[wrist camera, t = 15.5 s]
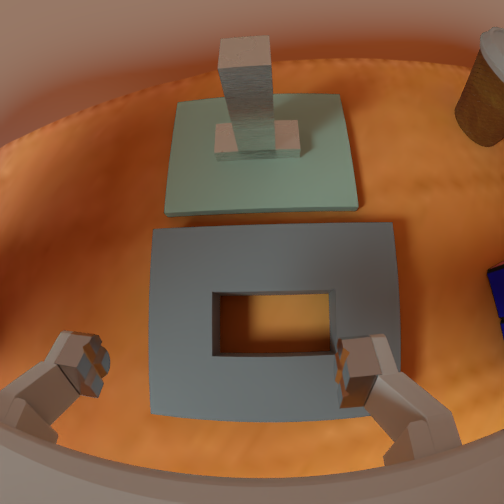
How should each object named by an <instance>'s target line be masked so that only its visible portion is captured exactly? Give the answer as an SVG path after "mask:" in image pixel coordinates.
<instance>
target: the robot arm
mask: <svg viewBox="0 0 504 504" xmlns="http://www.w3.org/2000/svg"><path fill="white" fill-rule="evenodd" d="M101 344H102V340H101V339H100V337H99V335H95V334H88V333H81V332H73V331H66V330H64V331H62V332H60V334H59V336H58V338H57V339H56V341H55V343H54V345H53V346H52V348H51V350H50V352H49V353H48V355H47V357H46V359H45V361H44V362H43V361H41V362H39V363H38V364H37V365H35V366H34V367H32V368H31V369H30V370H28V371H27V372H25V373H24V374H23V375H21V376H20V377H18V378H17V379H16V380H14V381H13V382H12V383H10V384H9V385H7V386H6V387H5V388H3V389H2V390H1V391H0V504H504V429H502V430H500V431H498V432H495V433H493V434H491V435H488V436H486V437H483V438H481V439H478V440H475V441H473V442H470V443H467V444H464V445H462V443H461V440H460V437H459V434H458V431H457V427H456V424H455V421H454V419H453V416H452V413H451V411H450V410H448V409H447V408H446V407H445V406H444V405H442V404H441V403H440V402H439V401H437V400H436V399H435V398H434V397H433V396H431V395H430V394H429V393H428V392H426V391H425V390H424V389H423V388H422V387H420V386H419V385H418V384H417V383H415V382H414V381H413V380H412V379H411V378H409V377H408V376H407V375H406V374H404V373H403V372H398V369H397V366H396V364H395V361H394V358H393V355H392V352H391V349H390V346H389V344H388V341H387V338H386V336H385V335H384V334H376V335H363V336H352V337H340V338H339V339H338V342H337V349H338V352H337V353H336V354H335V356H334V365H333V370H334V379H335V382H337V383H338V384H339V385H338V389H337V397H338V403H339V409H340V408H352V407H363V406H364V408H365V409H366V410H367V412H368V413H369V414H370V415H371V416H372V417H373V418H374V420H375V421H376V422H377V423H378V424H379V425H380V426H381V427H382V429H383V430H384V431H385V432H386V433H387V434H388V435H389V436H390V438H391V439H392V440H393V441H394V442H395V443H394V444H393V445H392V446H391V448H390V449H389V450H388V451H387V452H386V454H385V455H384V456H383V458H384V464H385V466H383V467H378V468H372V469H367V470H361V471H354V472H347V473H339V474H331V475H321V476H309V477H292V478H231V477H214V476H202V475H192V474H184V473H176V472H169V471H162V470H156V469H150V468H144V467H139V466H134V465H129V464H125V463H120V462H116V461H112V460H108V459H104V458H100V457H96V456H93V455H89V454H86V453H82V452H79V451H76V450H72V449H69V448H66V447H63V446H60V445H57V444H56V442H57V439H58V434H57V432H56V431H55V430H54V429H52V428H51V427H50V425H51V424H52V423H53V422H54V421H55V420H56V419H57V418H58V417H59V416H60V415H61V414H62V413H63V412H64V411H65V410H66V409H67V408H68V407H69V406H70V405H71V404H72V403H73V402H74V401H75V400H76V399H77V398H78V397H79V396H80V395H83V396H89V397H95V398H98V397H99V395H100V392H101V389H102V387H103V384H104V383H103V380H102V378H103V377H104V376H106V375H107V374H108V371H109V368H110V357H109V354H108V352H107V350H106V349H105V348H104V347H102V346H101Z"/></svg>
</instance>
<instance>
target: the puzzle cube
mask: <svg viewBox="0 0 504 504" xmlns="http://www.w3.org/2000/svg"><path fill="white" fill-rule="evenodd" d="M487 275H488V278H489V282H490V285H491V289H492V292H493V296H494V299H495V303H496V307H497V311H498V315H499V318H501V319H502V320H501V323H500V324H501V329H502V333H503V338H504V261H503V262H501V263H499V264H497V265H495V266H494V267H492V268H490V269H488V272H487Z"/></svg>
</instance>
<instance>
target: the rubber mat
mask: <svg viewBox="0 0 504 504" xmlns="http://www.w3.org/2000/svg"><path fill="white" fill-rule="evenodd" d="M273 104H274V120H298V128H299V139H300V158H281V159H254V160H235V161H219V162H217V159H216V156H215V154H214V146H215V130H216V124H222V123H231V120H230V116H229V112H228V108H227V104H226V100H225V97H220V98H210V99H201V100H193V101H185V102H178V104H177V110H176V116H175V123H174V130H173V137H172V144H171V152H170V160H169V168H168V177H167V187H166V197H165V207H164V214H165V215H166V216H167V217H176V216H195V215H215V214H239V213H267V212H308V211H356V210H357V208H358V207H359V206H358V198H357V190H356V183H355V176H354V169H353V163H352V157H351V151H350V145H349V139H348V134H347V128H346V123H345V118H344V113H343V108H342V103H341V99H340V94H273Z"/></svg>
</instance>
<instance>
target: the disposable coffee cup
mask: <svg viewBox="0 0 504 504" xmlns="http://www.w3.org/2000/svg"><path fill="white" fill-rule="evenodd" d="M455 116H456V119H457V122H458V124H459V125H460V127H461V129H462V130H463V131H464V132H465V134H466V135H467V136H468V137H469V138H470V139H472V140H473V141H474V142H476V143H478V144H479V145H482V146H485V147H490V146H493V145H495V144H496V143H497V142H499V141H500V140H502V139H503V138H504V29H503V28H499V27H492V28H491V29H490V30H489V31H488V32H484V33H482V35H481V37H480V50H479V53H478V56H477V58H476V60H475V63H474V66H473V68H472V70H471V73H470V75H469V78H468V80H467V83H466V85H465V88H464V90H463V92H462V94H461V97H460V99H459V101H458V103H457V106H456V108H455Z"/></svg>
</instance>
